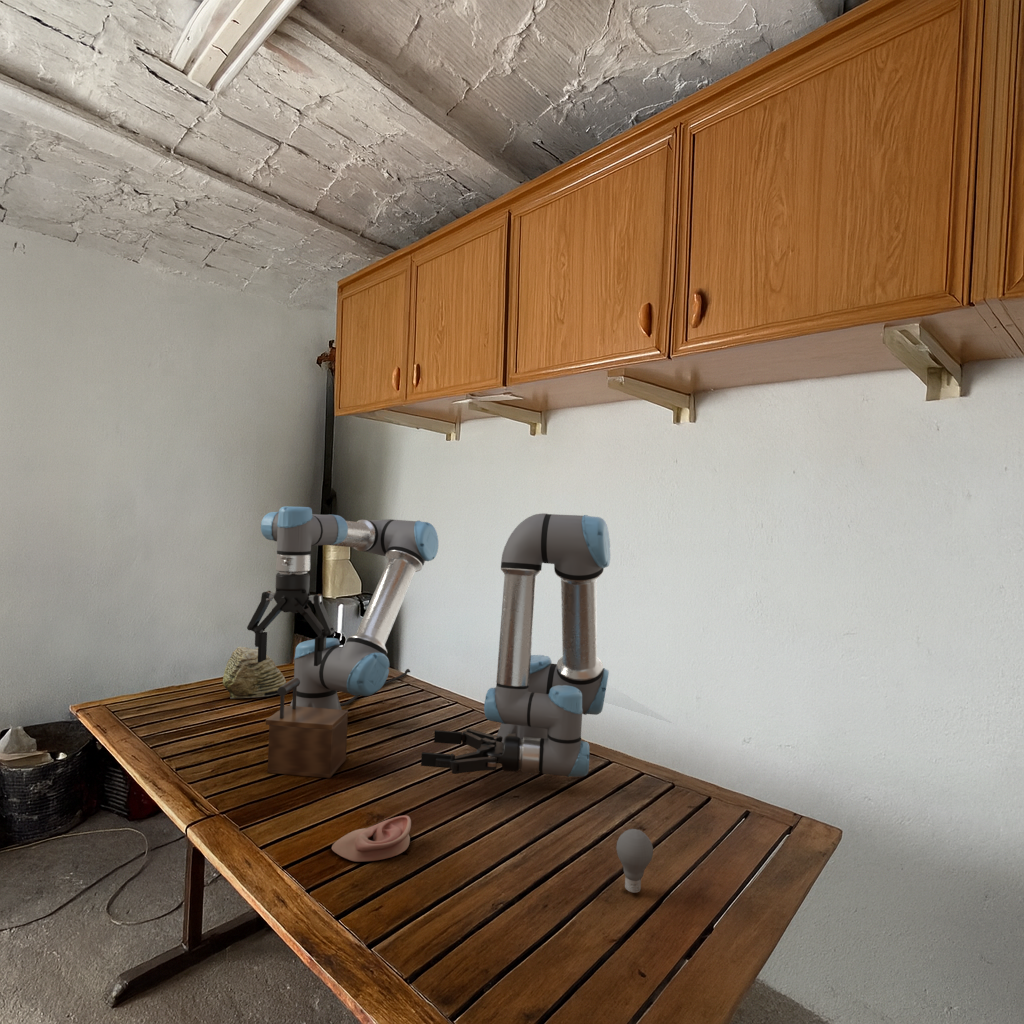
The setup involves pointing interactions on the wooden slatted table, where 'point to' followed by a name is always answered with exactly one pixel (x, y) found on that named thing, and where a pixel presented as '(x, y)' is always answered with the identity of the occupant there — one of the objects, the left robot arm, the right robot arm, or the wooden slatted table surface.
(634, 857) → the light bulb
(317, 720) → the lid
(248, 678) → the fossil
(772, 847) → the wooden slatted table surface
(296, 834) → the wooden slatted table surface
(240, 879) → the wooden slatted table surface
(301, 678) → the left robot arm
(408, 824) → the anatomical model
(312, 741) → the chest
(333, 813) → the wooden slatted table surface
